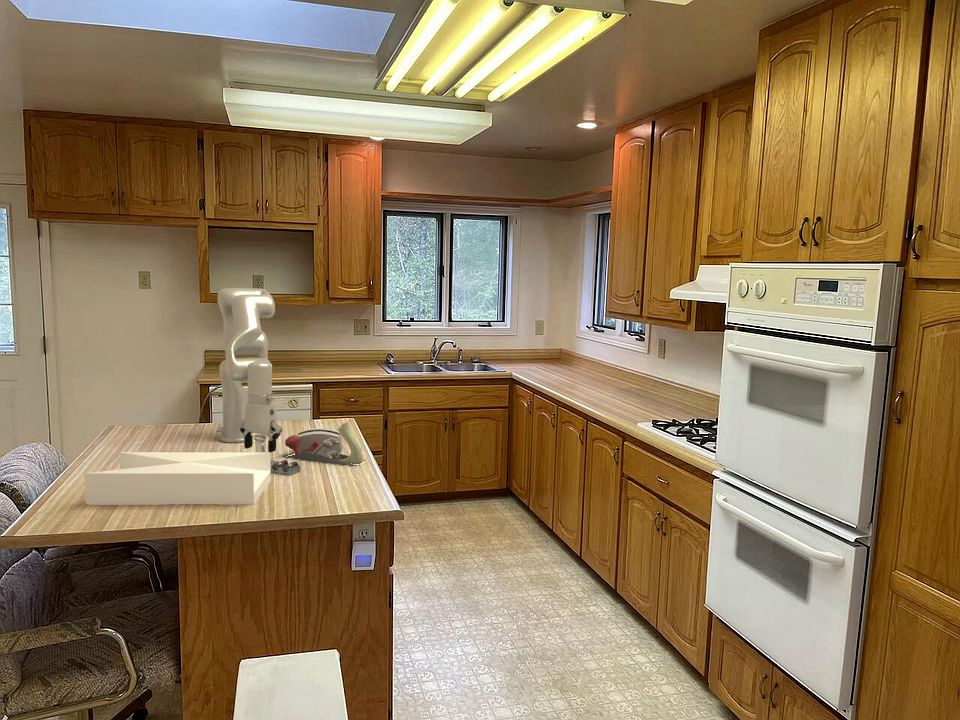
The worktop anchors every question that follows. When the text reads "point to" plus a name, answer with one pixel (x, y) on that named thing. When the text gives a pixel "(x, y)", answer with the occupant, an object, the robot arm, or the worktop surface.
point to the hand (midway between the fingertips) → (260, 449)
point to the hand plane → (328, 449)
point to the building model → (181, 479)
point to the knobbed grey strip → (284, 467)
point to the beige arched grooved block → (318, 438)
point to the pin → (260, 443)
